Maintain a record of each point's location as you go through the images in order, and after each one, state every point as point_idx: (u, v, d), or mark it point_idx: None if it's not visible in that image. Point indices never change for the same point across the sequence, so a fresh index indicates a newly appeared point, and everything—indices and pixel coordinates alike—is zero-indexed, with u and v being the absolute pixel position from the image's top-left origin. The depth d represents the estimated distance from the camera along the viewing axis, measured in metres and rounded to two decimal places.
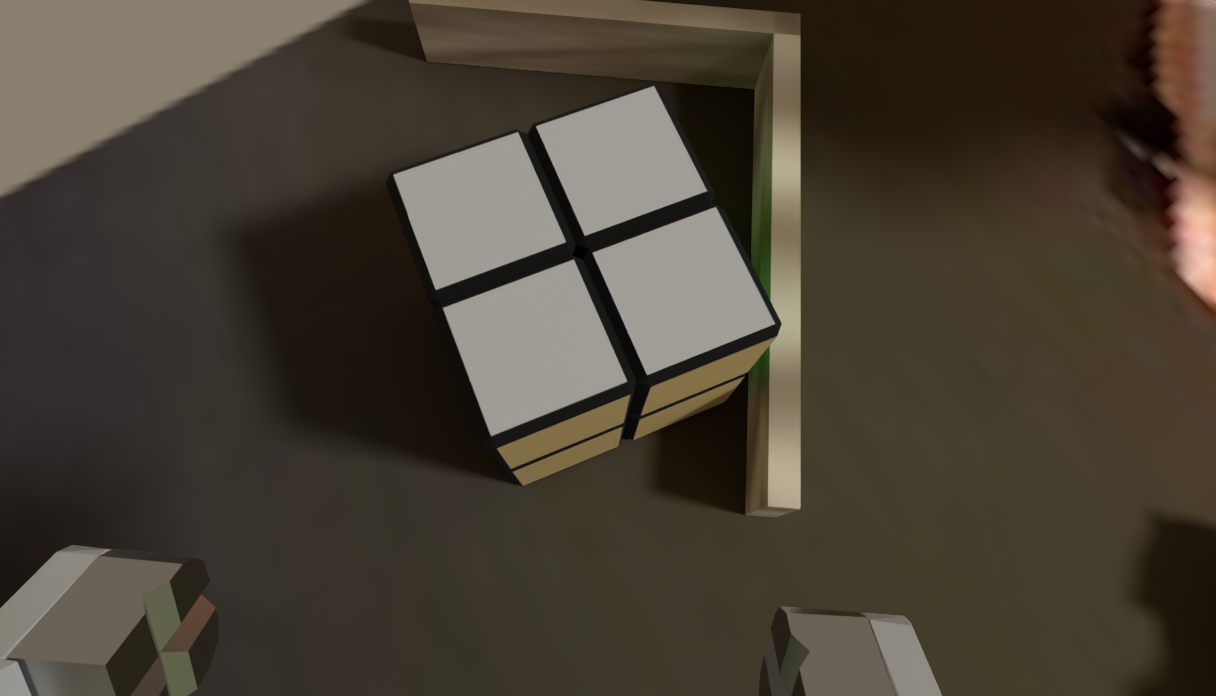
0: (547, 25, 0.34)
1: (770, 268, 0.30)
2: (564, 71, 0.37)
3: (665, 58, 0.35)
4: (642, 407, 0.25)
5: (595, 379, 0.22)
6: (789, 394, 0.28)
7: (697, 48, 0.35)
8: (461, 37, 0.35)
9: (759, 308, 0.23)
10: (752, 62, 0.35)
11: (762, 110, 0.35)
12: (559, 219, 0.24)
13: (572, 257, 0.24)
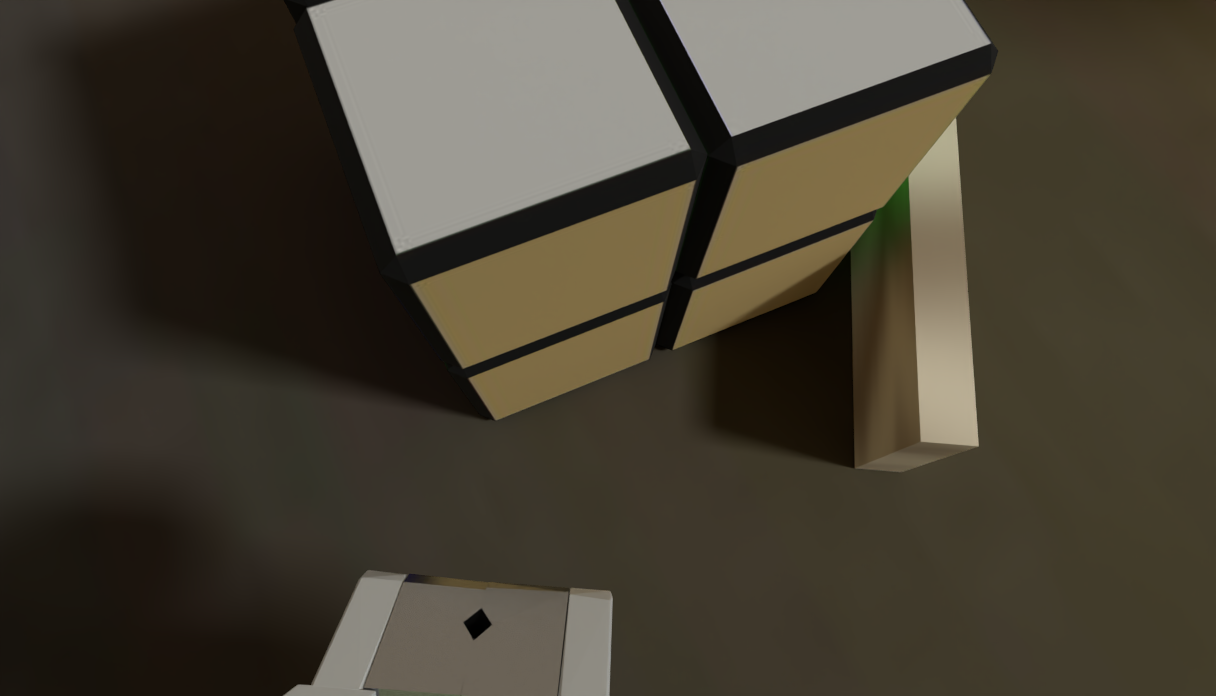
0: None
1: None
2: None
3: None
4: (705, 249, 0.14)
5: (622, 145, 0.10)
6: (946, 254, 0.17)
7: None
8: None
9: (956, 14, 0.11)
10: None
11: None
12: None
13: None
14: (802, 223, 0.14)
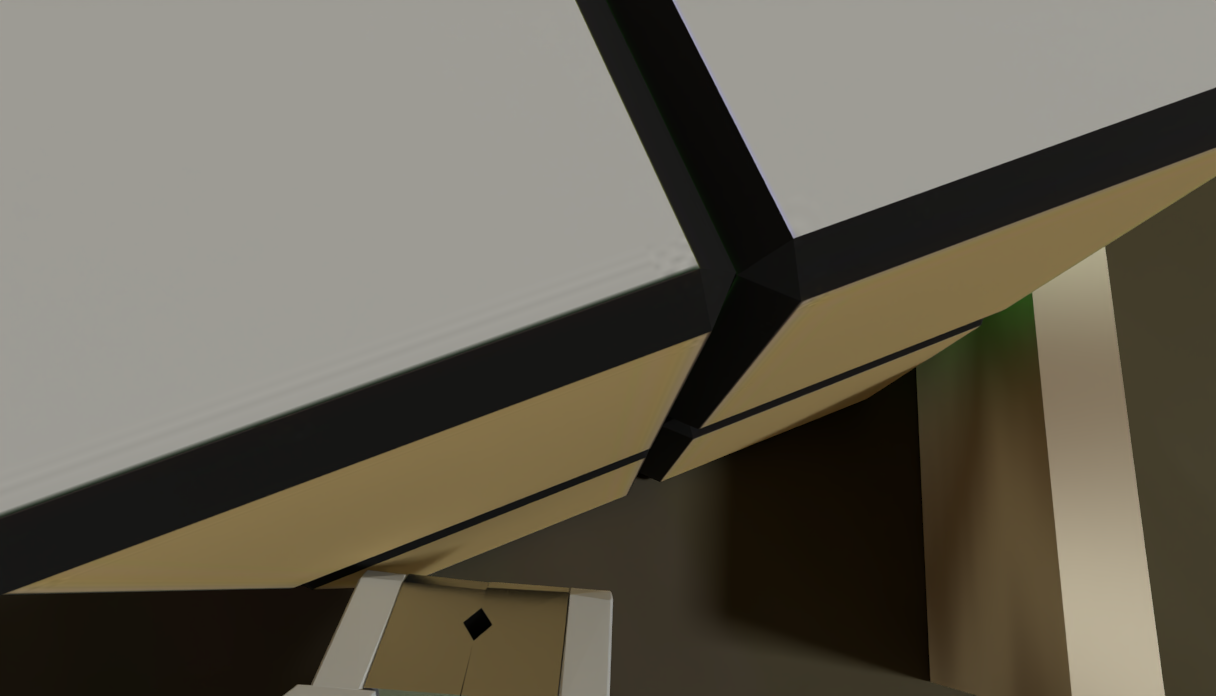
0: None
1: None
2: None
3: None
4: (717, 402, 0.08)
5: (540, 254, 0.05)
6: (1096, 396, 0.11)
7: None
8: None
9: None
10: None
11: None
12: None
13: None
14: (882, 347, 0.08)
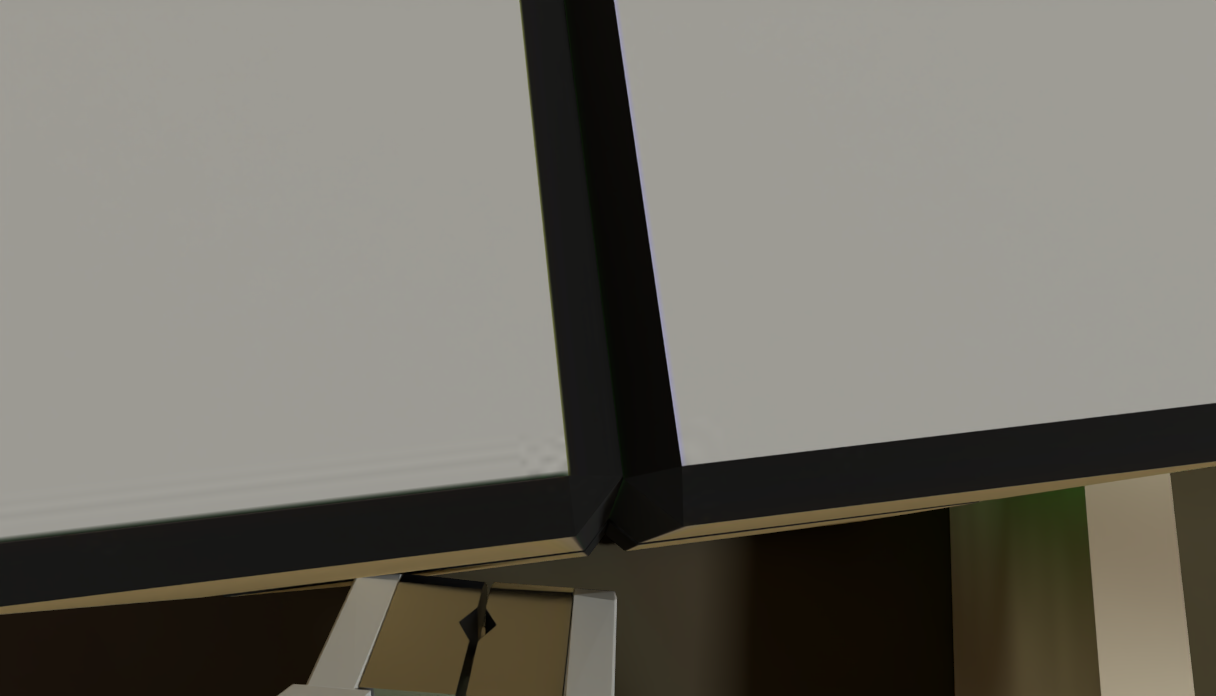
0: None
1: (1093, 658, 0.10)
2: None
3: None
4: (646, 538, 0.07)
5: (405, 417, 0.04)
6: None
7: None
8: None
9: None
10: None
11: None
12: None
13: None
14: (846, 516, 0.08)
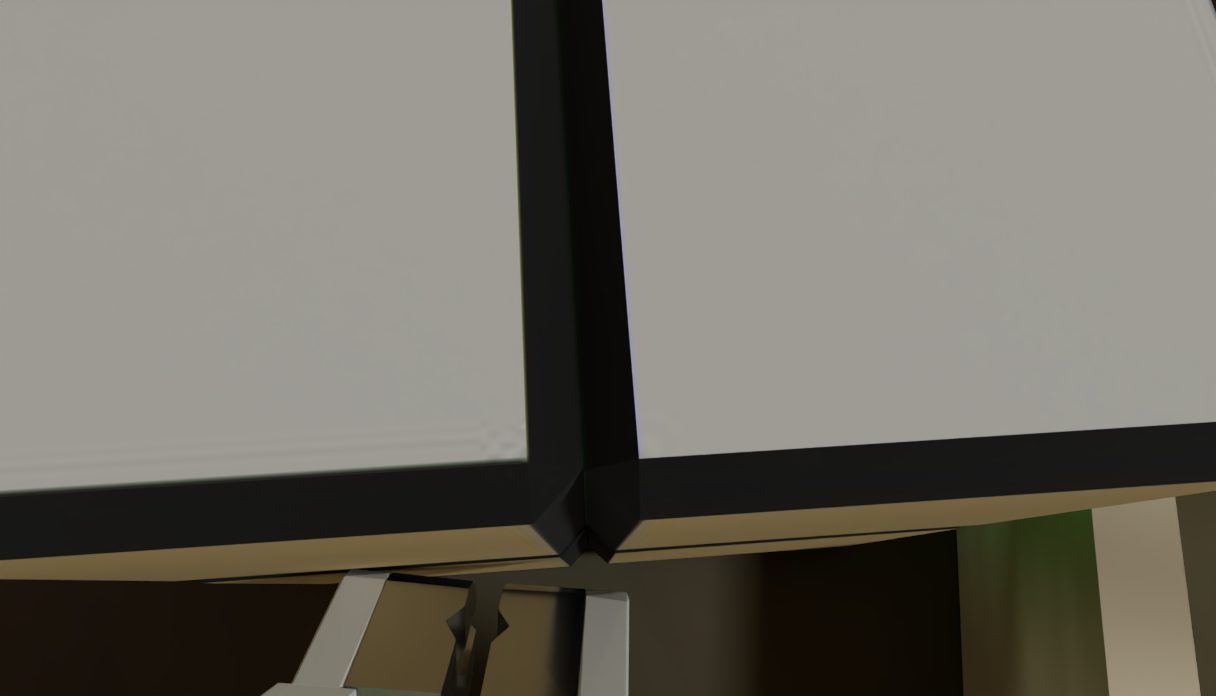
0: None
1: (1102, 682, 0.10)
2: None
3: None
4: (618, 542, 0.07)
5: (372, 396, 0.04)
6: None
7: None
8: None
9: None
10: None
11: None
12: None
13: None
14: (821, 532, 0.08)
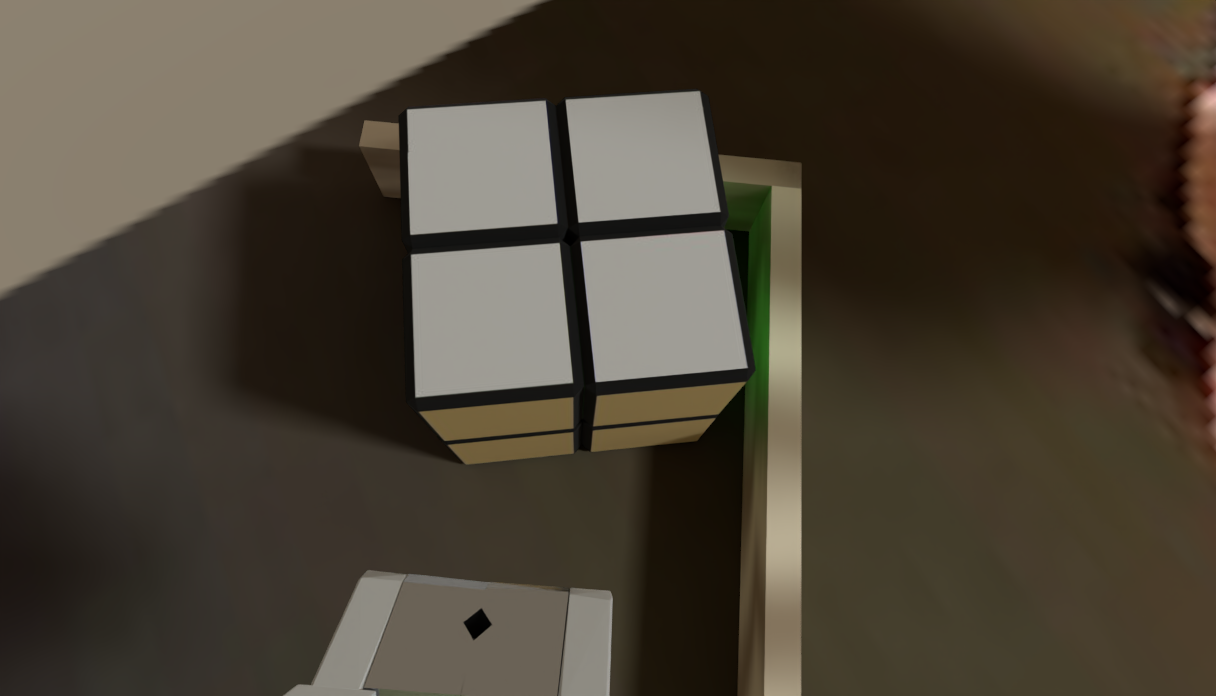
0: None
1: (766, 472, 0.26)
2: None
3: None
4: (593, 417, 0.24)
5: (540, 371, 0.21)
6: (788, 632, 0.24)
7: None
8: None
9: (736, 347, 0.21)
10: (746, 208, 0.32)
11: (758, 266, 0.31)
12: (558, 199, 0.23)
13: (559, 240, 0.22)
14: (658, 414, 0.24)
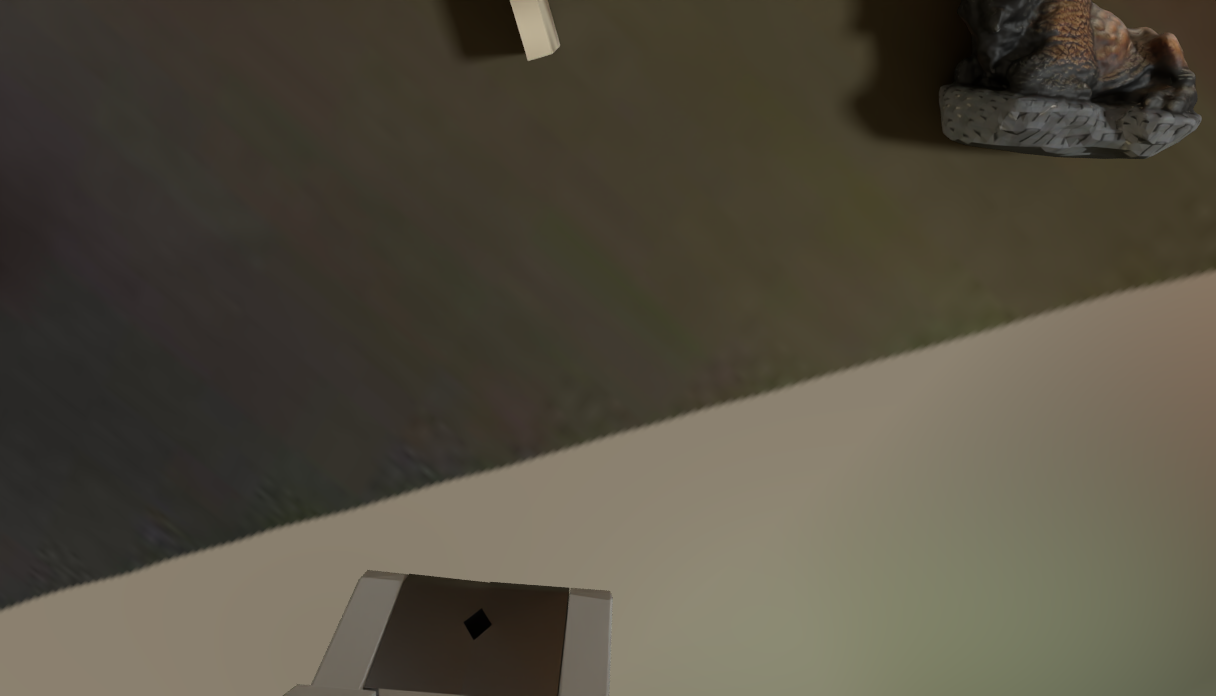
0: None
1: None
2: None
3: None
4: None
5: None
6: None
7: None
8: None
9: None
10: None
11: None
12: None
13: None
14: None
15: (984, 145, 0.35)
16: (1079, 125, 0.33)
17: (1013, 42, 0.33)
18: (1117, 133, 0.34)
